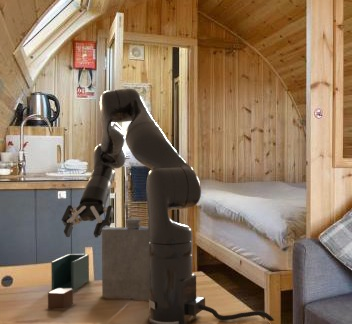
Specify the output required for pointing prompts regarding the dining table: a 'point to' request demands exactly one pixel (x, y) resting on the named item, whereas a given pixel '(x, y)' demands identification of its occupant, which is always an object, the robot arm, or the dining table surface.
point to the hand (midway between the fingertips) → (81, 235)
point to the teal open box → (70, 271)
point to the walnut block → (60, 298)
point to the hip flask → (126, 261)
